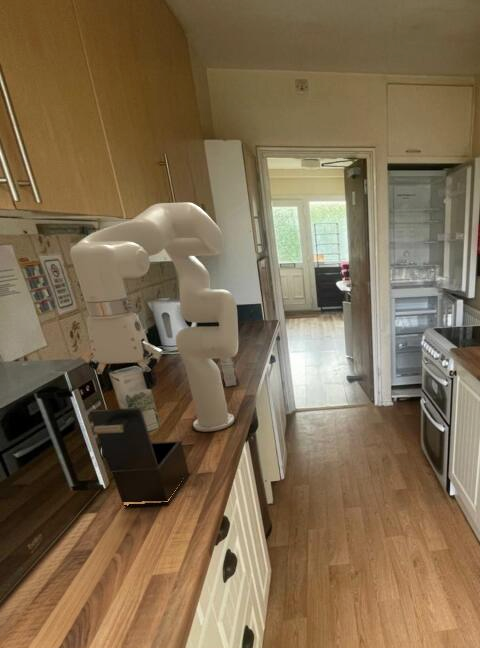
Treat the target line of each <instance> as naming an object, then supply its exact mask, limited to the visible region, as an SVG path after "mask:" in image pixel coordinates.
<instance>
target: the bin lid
mask: <svg viewBox="0 0 480 648" xmlns="http://www.w3.org/2000/svg"><path fill="white" fill-rule="evenodd" d="M88 413H89V415H90V418H91V422H92V424H93V433H94V434H95V435H96V436H97V438H98V440H99V443H100V446H101V449H102V452H103V455H104V457H105V461H106V463H107V466H108V469H109V471H110V472H113V471H122V470H140V469H157V468H158V467H159V466H158V463H157V460H156V456H155V453H154V449H153V446H152V443H153V442H152V439H151V437H150V432H148V429H147V426H146V423H145V419H144V416H143V413H142V409H141V408H128V409H120V408H111V409H110V408H109V409H93V410H90V411H89V412H88Z"/></svg>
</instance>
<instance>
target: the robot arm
mask: <svg viewBox="0 0 480 648" xmlns="http://www.w3.org/2000/svg"><path fill="white" fill-rule="evenodd" d="M224 249H225V239H224V235H223V232H222V230H221V228H220V227H219V225H218V224H216V222H215V221H214V220H213V219H212V218H211V217H210V216H209V214H208V213H207V212H206V211H204V210H203V209H202V208H201V207H200V206H198V205H197V204H195V203H193V202H188V201H187V202H185V201H184V202H160V203H159V202H158V203H155V204H152V205H151V206H148V207H147V208H146V209H145V210H144V211H142V212H141V213H139V214H138V215H136V216H135V217H134V218H132V219H130V220H127V221H124V222H120V223H118V224H115V225H111V226H109V227H105V228H102V229H99V230H97V231H94V232H91V233H90V234H88V235H87V236H85V237H84V238H82V239H80V241H78V242H77V243H76V244H75V245H73V246H72V247H71V248H70V251H69V254H70V259H71V261H72V265H73V268H74V270H75V271H74V272H75V274H76V277H77V281H78V285H79V288H80V290H81V295H82V297H83V300H84V303H85V307H86V310H87V313H88V316H87V317H86V325H87V333H88V339H89V340H88V341H89V345H90V346H89V347H88V348H87V349H86V350H85V351H83V353H81V354H80V358H81V360H83V361H84V362H85V363H87V364H88V366H89V367H90V368H91V369H93V368H94V369H93V370H95V371H96V374H98V375H100V377H101V380H102V383H103V384H102V385H103V386H104V387H105V390H106V392H111V391H114V389H113V386H112V383H111V379H110V376H109V372H113V371H114V370H112V369H110V368H111V365H112V364H131V363H137V364H138V366H139V367H140V368H142V369H143V370H145V372H143V376H144V380H145V383H146V387H147V389H151V390H152V389H153V388H154V387H156V386H157V376H156V372H155V368H156V367H157V365H158V364H159V362H160V359H162V355H163V353H164V350H163V349H161V348H159V347H157V346H155V345H153V344H151V343H149V340H148V337H147V334H146V332H145V330H144V327H143V325H142V323H141V320H140V318H139V317H138V315H137V312H132V309H136V308H137V305H136V302H135V301H130V299H129V297H128V296H127V291H126V288H125V284H124V280H127V279H129V280H130V279H139V278H142V277H143V276H145V275H146V274H147V273H148V271H149V269H150V266H151V262H150V261H151V260H150V257H151V256H155V255H157V254H159V253H161V252H162V251H163V250H164V251H165V253H166V254H167V256H168V257H169V258H170V260H171V262H172V263H173V265H174V267H175V269H176V271H177V274H178V275H177V276H178V285H179V304H180V305H179V306H180V314H181V316H182V318H183V319H184V320H185V322H188V323H195V324H196V323H197V324H199V323H200V324H203V323H204V324H206V323H218V325H216V326H205V325H204V326H188V327H185V328H182V329H180V330H179V331H178V332H177V334H176V336H175V344H176V348H177V351H178V353H179V356H180V358H181V360H182V363H183V365H184V368H185V373H186V376H187V381H188V385H189V389H190V393H191V398H192V402H193V407H194V411H195V415H196V419H195V420H194V421H193V423H192V426H193V429H194V430H196V431H197V432H203V433H204V432H206V433H209V432H216V431H221V430H223V429H226V428H229V427H230V426H231V425H233V424H234V422H235V416H234V415H233V414H232V413H229V411H228V403H227V400H226V395H225V390H224V386H223V385H224V384H223V380H222V374H221V370H220V368H219V366H218V365H217V363H216V362H215V361H214V360H215V359H219V358H231V357H232V358H234V357H235V356H236V355H237V354H238V351H239V323H238V322H239V321H238V319H239V317H238V307H237V306H238V305H237V302H236V299H235V297H234V294H232V293H231V291H229V290H226V289H222V288H221V289H217V288H216V289H211V277H210V273H209V271H208V270H207V269H208V268H206V267H205V265H204V264H203V263H202V262H201V261H200V260H199V259H198V258H197V257H213V256H214V257H215V256H218V255H220V254H222V252H223V251H224ZM151 354H152V358H151V359H150V358H149V357H150V356H151ZM92 365H93V367H92Z"/></svg>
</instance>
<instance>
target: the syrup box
mask: <svg viewBox="0 0 480 648" xmlns="http://www.w3.org/2000/svg"><path fill="white" fill-rule="evenodd" d="M112 371H113V372H109V376H110V379H111V383H112V386H113V392H114V395H115V398H116V401H117V405H118V409H128V408H141V409H142V413H143V416H144V419H145V423H146V426H147V429H148V433H151V432H153V431H156V430H159V429H161V428H162V426H161V422H160V419H159V414H158V410H157V406H156V403H155V400H154V395H153V392H152V389H147V387H146V383H145V380H144V376H143V372H145V370H144V369H143V368H142V367H141V366H137V365H133V366H129V367H125V368H120V369H116V370H112Z"/></svg>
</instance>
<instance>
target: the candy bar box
mask: <svg viewBox="0 0 480 648" xmlns="http://www.w3.org/2000/svg"><path fill="white" fill-rule="evenodd" d="M218 359H219V365H220V369H221V373H222V374H221V375H222V378H223V383H224V386H225V388H228V387H229V388H230V387H235V386H238V380H237V375H236V369H235V364H234V359H233V357H231V358H218Z"/></svg>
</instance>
